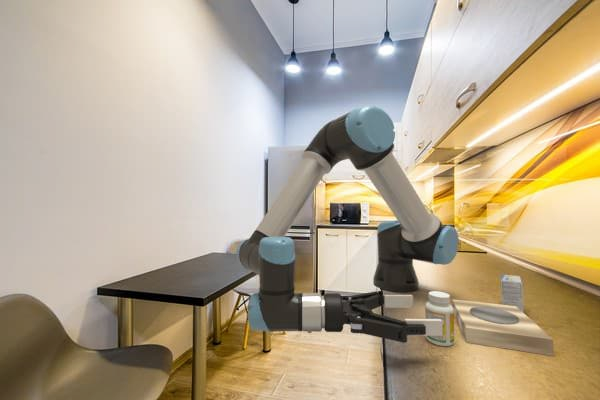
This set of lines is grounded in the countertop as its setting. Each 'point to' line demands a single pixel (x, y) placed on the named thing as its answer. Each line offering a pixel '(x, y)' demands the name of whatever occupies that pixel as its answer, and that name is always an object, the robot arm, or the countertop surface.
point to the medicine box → (512, 291)
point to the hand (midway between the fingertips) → (425, 312)
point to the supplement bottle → (441, 317)
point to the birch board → (500, 327)
